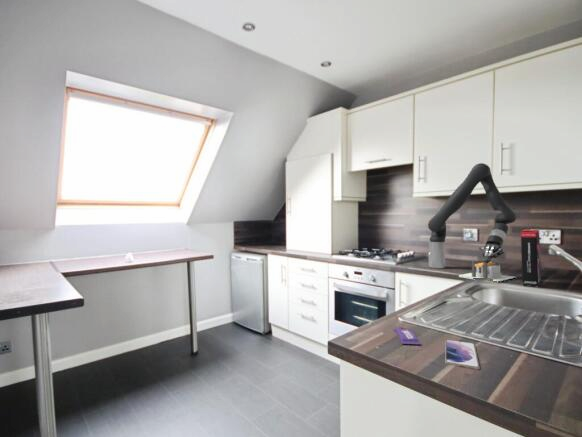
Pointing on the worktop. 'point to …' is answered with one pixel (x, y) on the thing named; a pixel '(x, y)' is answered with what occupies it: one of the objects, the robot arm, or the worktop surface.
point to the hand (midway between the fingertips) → (485, 262)
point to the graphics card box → (530, 257)
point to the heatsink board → (486, 272)
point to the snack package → (407, 336)
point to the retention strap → (487, 264)
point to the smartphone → (461, 354)
